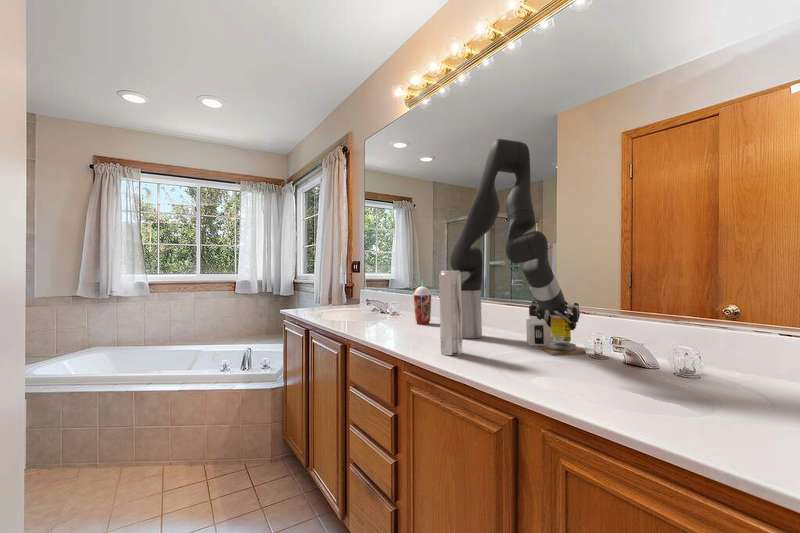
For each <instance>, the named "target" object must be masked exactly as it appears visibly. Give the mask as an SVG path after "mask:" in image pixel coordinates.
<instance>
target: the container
mask: <svg viewBox="0 0 800 533" xmlns="http://www.w3.org/2000/svg"><path fill="white" fill-rule="evenodd" d="M530 306H531V305H529V306H528V318H527V319H526V320H525V322H526V323H525V324H526V326H525V327H526V330H525V331H526V342H527V344H528V346H530V347H538V346H539V345H547V343H549V342H552V341H551V328H550V327H549V326H548V325H547V323H546V321H544V319H541V320H539V319H538V318H537V317H536V316H535V314H534V313H533V312H532V310H531V309H530ZM541 310H542V309H541ZM542 311H543V310H542ZM543 312H544V313H545V311H543Z"/></svg>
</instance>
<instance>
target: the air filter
mask: <svg viewBox="0 0 800 533" xmlns="http://www.w3.org/2000/svg"><path fill="white" fill-rule="evenodd" d="M438 276H439V277H438V278H439V279H438V282H439V283H438V288H439V290H438V292H439V326H440V327H439V329H440V330H439V332H440V333H439V336H440V338H439V339H440V354H441V355H443V354H444V356H448V355H456V356H461V355H462V354H463V352H464V351H463V338H462V305H461V280H462V272H460V271H454V270H441V271H440V273H439V274H438Z"/></svg>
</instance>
